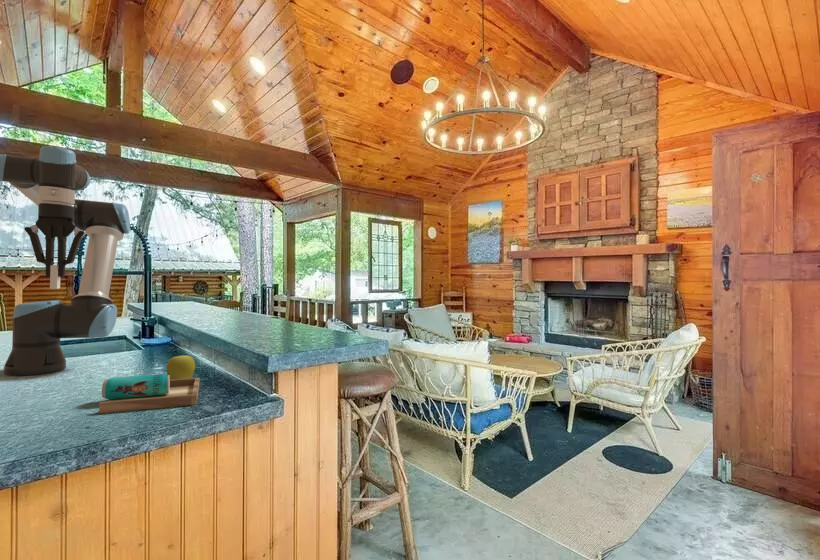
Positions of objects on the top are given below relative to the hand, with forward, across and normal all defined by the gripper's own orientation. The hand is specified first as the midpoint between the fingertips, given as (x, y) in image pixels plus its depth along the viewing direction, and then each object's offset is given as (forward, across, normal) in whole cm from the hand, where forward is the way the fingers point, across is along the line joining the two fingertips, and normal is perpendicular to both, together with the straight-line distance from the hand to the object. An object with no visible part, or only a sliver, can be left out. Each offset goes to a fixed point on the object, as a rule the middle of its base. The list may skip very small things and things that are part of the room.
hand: (55, 288), depth 110 cm
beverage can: (+26, +14, -15) cm, 33 cm away
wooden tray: (+29, +25, -16) cm, 41 cm away
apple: (+30, +31, +1) cm, 43 cm away
